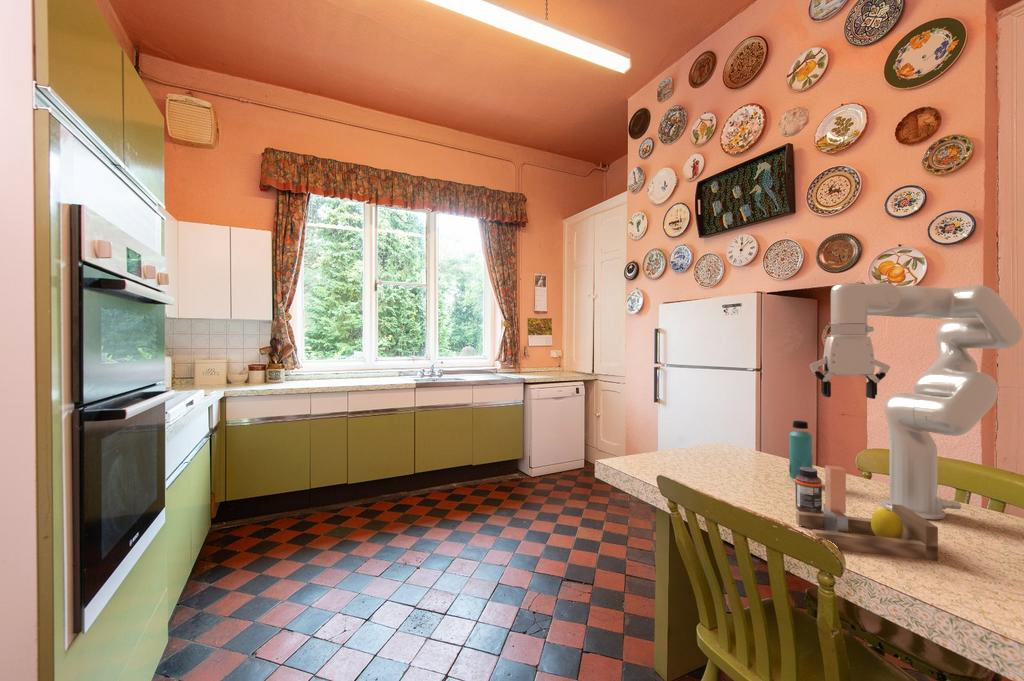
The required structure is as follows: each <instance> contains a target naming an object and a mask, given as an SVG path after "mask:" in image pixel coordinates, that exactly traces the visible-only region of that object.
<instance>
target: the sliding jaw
mask: <svg viewBox="0 0 1024 681" xmlns="http://www.w3.org/2000/svg"><path fill="white" fill-rule="evenodd" d="M824 467H825V468H824V469H825V470H824V471H825V474H824V475H825V478H824V486H825V488H824V490H825V491H824V496H825V498H824V500H825V501H824V503H822V511H823V513H822V514H823V529H822V530H824V531H833V532H842V533H849V532H848V517H847V516H848V515H845V514H846V512H847V511H846V509H847V508H846V507H847V506H846V504H847V503H846V502H847V497H846V496H847V495H846V494H847V492H846V491H847V486H846V485H847V482H846V481H847V480H846V479H847V470H846V469H845V468H844V467H842V466H841V465H828V464H827V465H824Z"/></svg>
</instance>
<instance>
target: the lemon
mask: <svg viewBox="0 0 1024 681" xmlns="http://www.w3.org/2000/svg"><path fill="white" fill-rule="evenodd" d="M870 519H871V528H872V530H873V532H874V534H875V535H874V534H873V535H874V536H879V537H888V538H897V539H900V538H901V536H902V533H903V525H902V522H901V519H900V518H899V516H898V515H897V514H896V513H894V512H893V511H891V510H889V509H888V508H885V507H884V508H879V509H877V510H875V511H874V512H873V513H872V516H871V518H870Z"/></svg>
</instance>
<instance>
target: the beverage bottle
mask: <svg viewBox="0 0 1024 681" xmlns="http://www.w3.org/2000/svg"><path fill="white" fill-rule="evenodd" d="M808 424H809V423H808V422H807V421H805V420H793V422H792V428H795V429H799V430H793V431H790V433H789V434H788V438H789V441H788V442H789V446H788V451H789V453H788V454H789V455H788V461H789V464H788V465H789V466H788V467H789V468H788V470H789V474H788V475H789V477H790V478H791V479H793V480H795V478H796V476H797V475H799V473H800V472H799V471H800V467H810V468H813V463H814V462H813V459H814V458H813V455H814V454H813V435H812V434H811V433H809V432H808V431H804V429H805V430H808V429H809V425H808ZM800 429H801V430H800Z"/></svg>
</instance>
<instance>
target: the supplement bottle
mask: <svg viewBox="0 0 1024 681" xmlns="http://www.w3.org/2000/svg"><path fill="white" fill-rule="evenodd" d="M799 472H800V473H799V475H797V476H796V478H795V479H794V480H795V508H796V509H797V510H798V511H799V512H809V513H819V514H822V511H823V499H822V498H823V495H822V494H823V493H822V492H823V491H822V490H823V489H822V487H823V484H822V482H823V481H822V479H821V478H820V477H819V476H818V470H817V468H814V467H812V468H810V467H800V471H799Z"/></svg>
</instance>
